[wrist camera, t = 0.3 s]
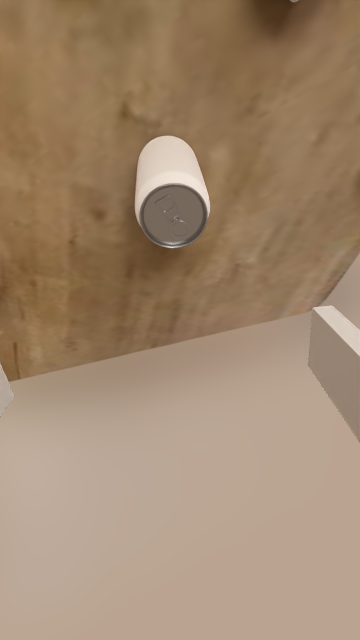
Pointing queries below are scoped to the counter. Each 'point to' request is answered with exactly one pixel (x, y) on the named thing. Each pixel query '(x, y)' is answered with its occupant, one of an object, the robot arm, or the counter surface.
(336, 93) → the counter surface
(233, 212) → the counter surface
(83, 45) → the counter surface
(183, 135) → the counter surface
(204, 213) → the can
